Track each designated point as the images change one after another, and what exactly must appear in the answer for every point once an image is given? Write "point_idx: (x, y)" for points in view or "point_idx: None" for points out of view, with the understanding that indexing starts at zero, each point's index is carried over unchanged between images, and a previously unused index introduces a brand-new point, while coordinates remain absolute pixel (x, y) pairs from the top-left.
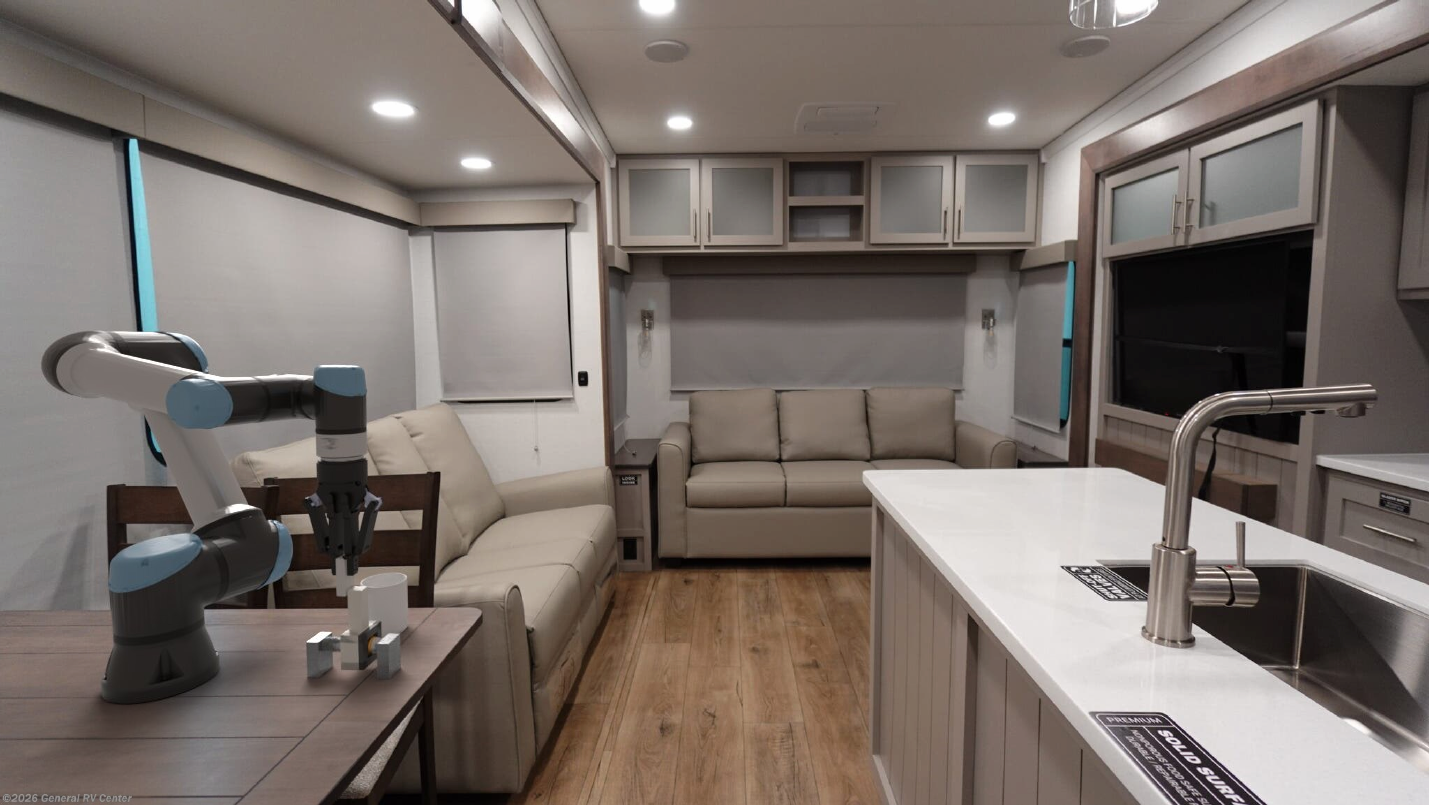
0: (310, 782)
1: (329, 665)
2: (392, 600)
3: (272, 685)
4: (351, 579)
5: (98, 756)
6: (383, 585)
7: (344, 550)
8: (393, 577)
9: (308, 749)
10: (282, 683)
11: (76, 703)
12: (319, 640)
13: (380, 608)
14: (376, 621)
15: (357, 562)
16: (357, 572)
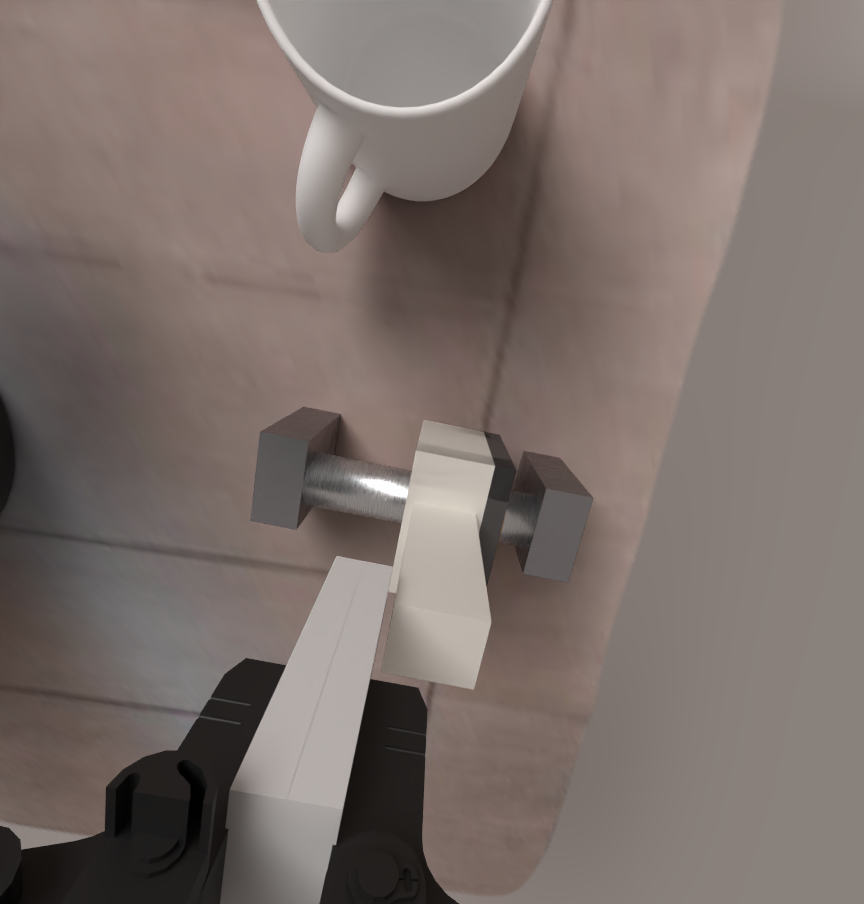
0: (489, 874)
1: (335, 435)
2: (486, 126)
3: (217, 507)
4: (376, 647)
5: (34, 743)
6: None
7: (208, 847)
8: None
9: (444, 787)
10: (239, 500)
11: None
12: (294, 513)
13: (428, 164)
14: (496, 474)
15: (421, 792)
16: (419, 692)
